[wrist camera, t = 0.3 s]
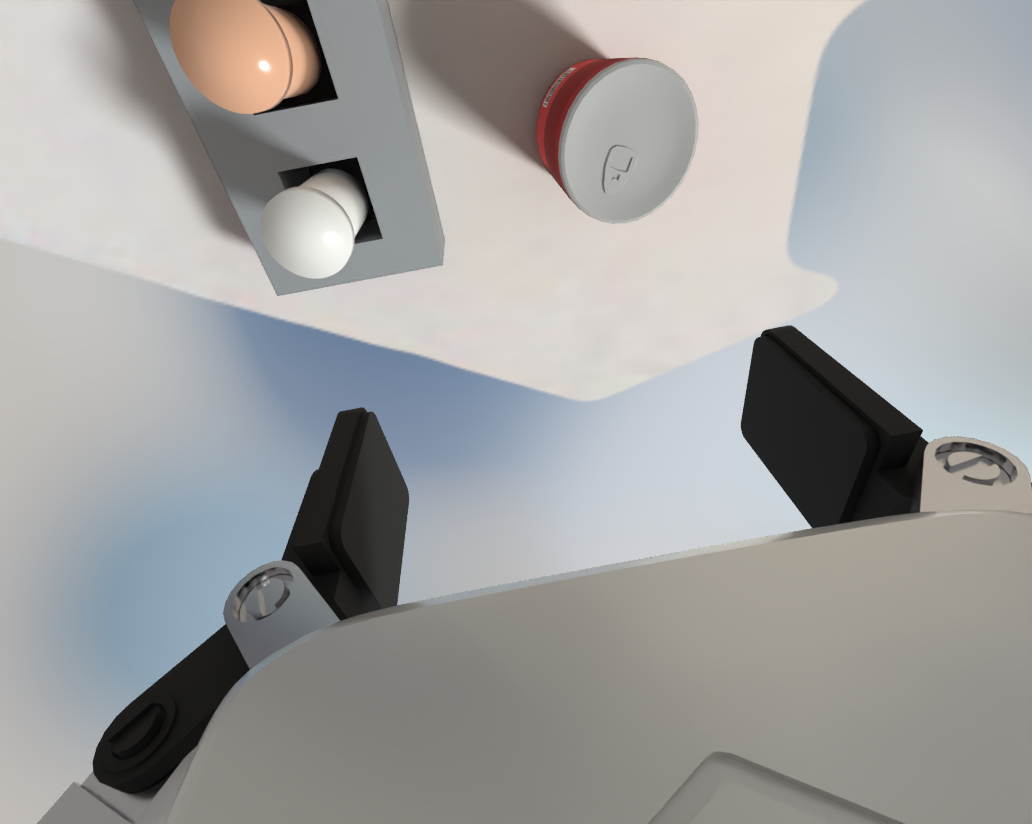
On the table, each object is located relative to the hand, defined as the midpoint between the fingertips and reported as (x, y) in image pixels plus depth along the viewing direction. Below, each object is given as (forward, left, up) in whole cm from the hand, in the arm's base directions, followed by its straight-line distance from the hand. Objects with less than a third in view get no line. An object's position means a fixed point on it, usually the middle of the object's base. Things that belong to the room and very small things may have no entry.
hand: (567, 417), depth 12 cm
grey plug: (-1, -11, -26) cm, 28 cm away
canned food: (-2, +7, -30) cm, 31 cm away
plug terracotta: (-9, -11, -26) cm, 29 cm away
